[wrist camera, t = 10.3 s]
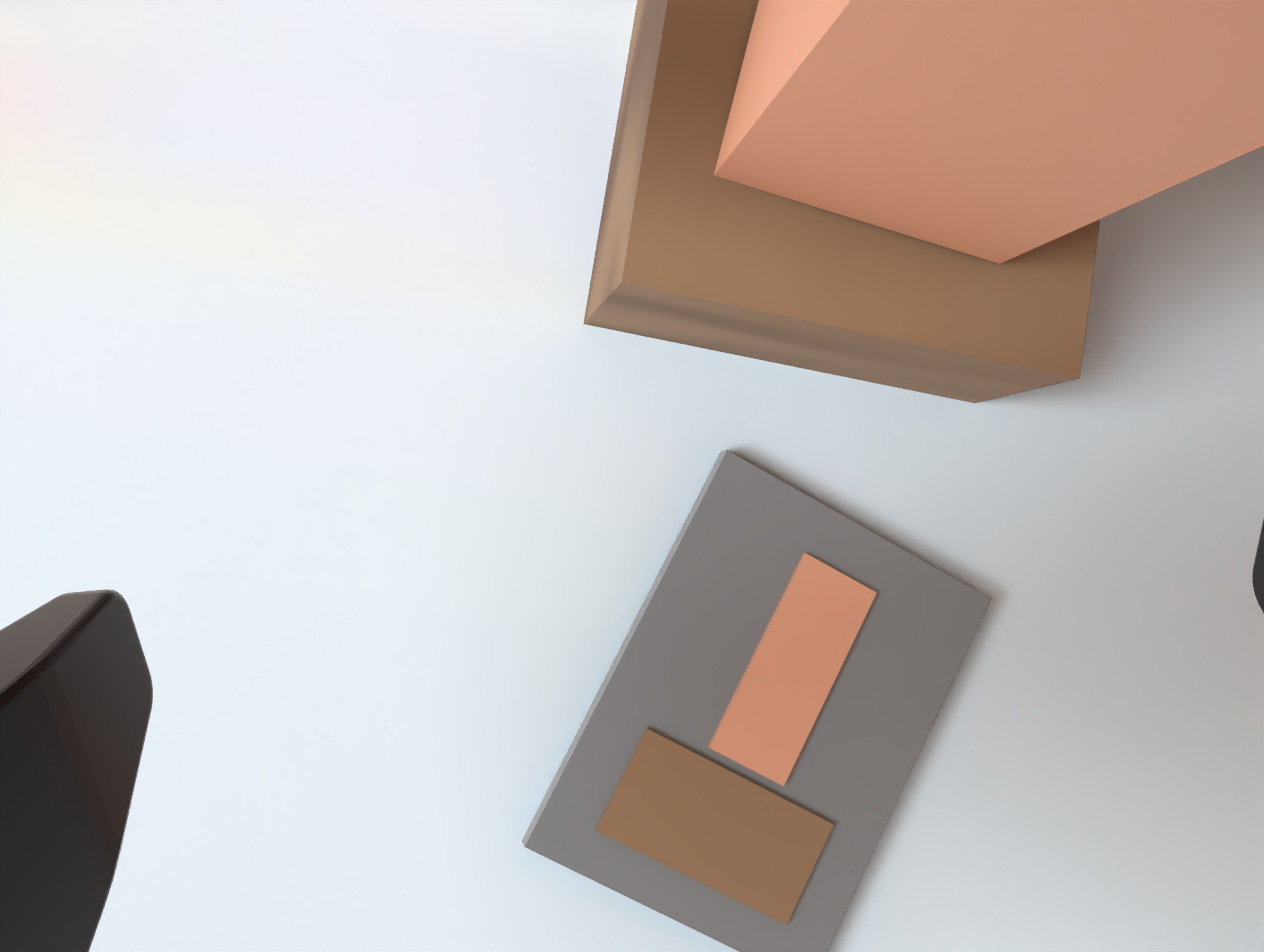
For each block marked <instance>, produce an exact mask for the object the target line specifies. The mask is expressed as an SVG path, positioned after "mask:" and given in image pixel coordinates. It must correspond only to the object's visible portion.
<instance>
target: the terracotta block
mask: <svg viewBox="0 0 1264 952" xmlns="http://www.w3.org/2000/svg"><path fill="white" fill-rule="evenodd" d="M1262 146H1264V0H759V2H758V6H757V10H756V14H755V17H754V21H753V25H752V29H751V33H750V37H749V41H748V44H747V48H746V52H745V56H744V60H743V64H742V68H741V72H740V75H739V79H738V83H737V87H736V91H735V95H734V99H733V102H732V106H731V110H730V114H729V118H728V122H727V126H726V129H725V133H724V137H723V141H722V145H721V149H720V153H719V157H718V160H717V164H716V168H715V172H714V176H717V177H720V178H723V179H727V180H730V181H733V182H736V183H740V184H743V185H746V186H749V187H753V188H756V189H759V190H762V191H765V192H769V193H772V194H775V195H778V196H782V197H785V198H788V199H791V200H795V201H798V202H801V203H804V204H808V205H811V206H814V207H817V208H820V209H824V210H827V211H830V212H833V213H837V214H840V215H843V216H846V217H850V218H853V219H856V220H859V221H863V222H866V223H869V224H872V225H876V226H879V227H882V228H885V229H888V230H892V231H895V232H898V233H901V234H905V235H908V236H911V237H914V238H918V239H921V240H924V241H927V242H931V243H934V244H937V245H940V246H943V247H947V248H950V249H953V250H956V251H960V252H963V253H966V254H969V255H973V256H976V257H979V258H982V259H986V260H989V261H992V262H995V263H999V264H1001V263H1003V262H1005V261H1007V260H1010V259H1012V258H1014V257H1016V256H1019V255H1021V254H1023V253H1025V252H1028V251H1030V250H1032V249H1034V248H1036V247H1039V246H1041V245H1043V244H1045V243H1048V242H1050V241H1052V240H1054V239H1057V238H1059V237H1061V236H1063V235H1066V234H1068V233H1070V232H1072V231H1074V230H1077V229H1079V228H1081V227H1083V226H1086V225H1088V224H1090V223H1092V222H1095V221H1097V220H1099V219H1101V218H1103V217H1106V216H1108V215H1110V214H1112V213H1115V212H1117V211H1119V210H1121V209H1124V208H1126V207H1128V206H1130V205H1132V204H1135V203H1137V202H1139V201H1141V200H1144V199H1146V198H1148V197H1150V196H1153V195H1155V194H1157V193H1159V192H1162V191H1164V190H1166V189H1168V188H1170V187H1173V186H1175V185H1177V184H1179V183H1182V182H1184V181H1186V180H1188V179H1191V178H1193V177H1195V176H1197V175H1199V174H1202V173H1204V172H1206V171H1208V170H1211V169H1213V168H1215V167H1217V166H1220V165H1222V164H1224V163H1226V162H1228V161H1231V160H1233V159H1235V158H1237V157H1240V156H1242V155H1244V154H1246V153H1249V152H1251V151H1253V150H1255V149H1258V148H1260V147H1262Z"/></svg>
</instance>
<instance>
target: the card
mask: <svg viewBox="0 0 1264 952" xmlns="http://www.w3.org/2000/svg"><path fill="white" fill-rule="evenodd" d="M990 600H991V599H990V598H989V597H987V596H985V595H983V594H982V593H980V592H978V591H976V590H974V589H973V588H971V587H969V586H967V585H966V584H964V583H962V582H960V581H958V580H957V579H955V578H953V577H951V576H950V575H948V574H946V573H944V572H943V571H941V570H939V569H937V568H935V567H934V566H932V565H930V564H928V563H927V562H925V561H923V560H921V559H919V558H918V557H916V556H914V555H912V554H911V553H909V552H907V551H905V550H904V549H902V548H900V547H898V546H896V545H895V544H893V543H891V542H889V541H888V540H886V539H884V538H882V537H880V536H879V535H877V534H875V533H873V532H872V531H870V530H868V529H866V528H865V527H863V526H861V525H859V524H857V523H856V522H854V521H852V520H850V519H849V518H847V517H845V516H843V515H841V514H840V513H838V512H836V511H834V510H833V509H831V508H829V507H827V506H825V505H824V504H822V503H820V502H818V501H817V500H815V499H813V498H811V497H810V496H808V495H806V494H804V493H802V492H801V491H799V490H797V489H795V488H794V487H792V486H790V485H788V484H786V483H785V482H783V481H781V480H779V479H778V478H776V477H774V476H772V475H771V474H769V473H767V472H765V471H763V470H762V469H760V468H758V467H756V466H755V465H753V464H751V463H749V462H747V461H746V460H744V459H742V458H740V457H739V456H737V455H735V454H733V453H732V452H730V451H728V450H726V451H722V452H721V453H720V455H719V457H718V459H717V461H716V463H715V465H714V467H713V469H712V471H711V473H710V475H709V477H708V479H707V481H706V483H705V484H704V486H703V488H702V490H701V492H700V494H699V496H698V498H697V500H696V502H695V504H694V506H693V508H692V510H691V512H690V514H689V516H688V518H687V520H686V522H685V524H684V526H683V527H682V529H681V531H680V533H679V535H678V537H677V539H676V541H675V543H674V545H673V547H672V549H671V551H670V553H669V555H668V557H667V559H666V561H665V563H664V565H663V567H662V569H661V570H660V572H659V574H658V576H657V578H656V580H655V582H654V584H653V586H652V588H651V590H650V592H649V594H648V596H647V598H646V600H645V602H644V604H643V606H642V608H641V610H640V612H639V613H638V615H637V617H636V619H635V621H634V623H633V625H632V627H631V629H630V631H629V633H628V635H627V637H626V639H625V641H624V643H623V645H622V647H621V649H620V651H619V653H618V655H617V656H616V658H615V660H614V662H613V664H612V666H611V668H610V670H609V672H608V674H607V676H606V678H605V680H604V682H603V684H602V686H601V688H600V690H599V692H598V694H597V696H596V698H595V699H594V701H593V703H592V705H591V707H590V709H589V711H588V713H587V715H586V717H585V719H584V721H583V723H582V725H581V727H580V729H579V731H578V733H577V735H576V737H575V739H574V741H573V742H572V744H571V746H570V748H569V750H568V752H567V754H566V756H565V758H564V760H563V762H562V764H561V766H560V768H559V770H558V772H557V774H556V776H555V778H554V780H553V782H552V784H551V785H550V787H549V789H548V791H547V793H546V795H545V797H544V799H543V801H542V803H541V805H540V807H539V809H538V811H537V813H536V815H535V817H534V819H533V821H532V823H531V825H530V827H529V828H528V830H527V832H526V834H525V836H524V838H523V840H522V842H523V844H524V846H525V847H526V848H528V849H530V850H532V851H534V852H536V853H539V854H541V855H543V856H545V857H547V858H549V859H551V860H553V861H555V862H557V863H559V864H561V865H563V866H565V867H567V868H569V869H571V870H573V871H575V872H578V873H580V874H582V875H584V876H586V877H588V878H590V879H592V880H594V881H596V882H598V883H600V884H602V885H604V886H606V887H608V888H610V889H612V890H614V891H617V892H619V893H621V894H623V895H625V896H627V897H629V898H631V899H633V900H635V901H637V902H639V903H641V904H643V905H645V906H647V907H649V908H651V909H653V910H656V911H658V912H660V913H662V914H664V915H666V916H668V917H670V918H672V919H674V920H676V921H678V922H680V923H682V924H684V925H686V926H688V927H690V928H692V929H695V930H697V931H699V932H701V933H703V934H705V935H707V936H709V937H711V938H713V939H715V940H717V941H719V942H721V943H723V944H725V945H727V946H729V947H731V948H733V949H736V950H738V951H740V952H827V951H828V949H829V946H830V944H831V942H832V940H833V938H834V936H835V933H836V931H837V929H838V927H839V925H840V923H841V921H842V918H843V916H844V914H845V912H846V910H847V908H848V906H849V903H850V901H851V899H852V897H853V895H854V893H855V890H856V888H857V886H858V884H859V882H860V880H861V878H862V875H863V873H864V871H865V869H866V867H867V865H868V862H869V860H870V858H871V856H872V854H873V852H874V850H875V847H876V845H877V843H878V841H879V839H880V837H881V834H882V832H883V830H884V828H885V826H886V824H887V822H888V819H889V817H890V815H891V813H892V811H893V809H894V806H895V804H896V802H897V800H898V798H899V796H900V794H901V791H902V789H903V787H904V785H905V783H906V781H907V778H908V776H909V774H910V772H911V770H912V768H913V766H914V763H915V761H916V759H917V757H918V755H919V753H920V750H921V748H922V746H923V744H924V742H925V740H926V738H927V735H928V733H929V731H930V729H931V727H932V725H933V722H934V720H935V718H936V716H937V714H938V712H939V710H940V707H941V705H942V703H943V701H944V699H945V697H946V694H947V692H948V690H949V688H950V686H951V684H952V682H953V679H954V677H955V675H956V673H957V671H958V669H959V666H960V664H961V662H962V660H963V658H964V656H965V654H966V651H967V649H968V647H969V645H970V643H971V641H972V638H973V636H974V634H975V632H976V630H977V628H978V626H979V623H980V621H981V619H982V617H983V615H984V613H985V610H986V608H987V606H988V604H989V602H990Z"/></svg>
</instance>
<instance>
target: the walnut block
mask: <svg viewBox="0 0 1264 952" xmlns="http://www.w3.org/2000/svg"><path fill="white" fill-rule="evenodd" d="M758 2H759V0H637V6H636V12H635V18H634V24H633V30H632V36H631V42H630V48H629V54H628V60H627V66H626V72H625V78H624V84H623V90H622V96H621V102H620V108H619V114H618V120H617V126H616V132H615V138H614V144H613V150H612V156H611V162H610V168H609V174H608V180H607V186H606V192H605V198H604V204H603V210H602V216H601V222H600V228H599V234H598V240H597V247H596V253H595V259H594V265H593V271H592V277H591V283H590V289H589V295H588V301H587V307H586V313H585V319H584V324H587V325H592V326H597V327H602V328H607V329H612V330H617V331H622V332H627V333H632V334H636V335H641V336H646V337H651V338H656V339H661V340H666V341H671V342H676V343H681V344H686V345H691V346H696V347H701V348H706V349H710V350H715V351H720V352H725V353H730V354H735V355H740V356H745V357H750V358H755V359H760V360H765V361H770V362H775V363H780V364H784V365H789V366H794V367H799V368H804V369H809V370H814V371H819V372H824V373H829V374H834V375H839V376H844V377H849V378H854V379H858V380H863V381H868V382H873V383H878V384H883V385H888V386H893V387H898V388H903V389H908V390H913V391H918V392H923V393H928V394H933V395H937V396H942V397H947V398H952V399H957V400H962V401H967V402H972V403H976V402H981V401H985V400H989V399H993V398H998V397H1002V396H1006V395H1010V394H1015V393H1019V392H1023V391H1027V390H1032V389H1036V388H1040V387H1045V386H1049V385H1053V384H1057V383H1062V382H1066V381H1070V380H1074V379H1079V378H1080V370H1081V363H1082V355H1083V347H1084V339H1085V331H1086V324H1087V316H1088V308H1089V300H1090V293H1091V285H1092V277H1093V269H1094V261H1095V254H1096V246H1097V238H1098V230H1099V222H1100V219H1099V220H1097V221H1095V222H1092V223H1090V224H1088V225H1086V226H1083V227H1081V228H1079V229H1077V230H1074V231H1072V232H1070V233H1068V234H1066V235H1063V236H1061V237H1059V238H1057V239H1054V240H1052V241H1050V242H1048V243H1045V244H1043V245H1041V246H1039V247H1036V248H1034V249H1032V250H1030V251H1028V252H1025V253H1023V254H1021V255H1019V256H1016V257H1014V258H1012V259H1010V260H1007V261H1005V262H1003V263H1001V264H999V263H995V262H992V261H989V260H986V259H982V258H979V257H976V256H973V255H969V254H966V253H963V252H960V251H956V250H953V249H950V248H947V247H943V246H940V245H937V244H934V243H931V242H927V241H924V240H921V239H918V238H914V237H911V236H908V235H905V234H901V233H898V232H895V231H892V230H888V229H885V228H882V227H879V226H876V225H872V224H869V223H866V222H863V221H859V220H856V219H853V218H850V217H846V216H843V215H840V214H837V213H833V212H830V211H827V210H824V209H820V208H817V207H814V206H811V205H808V204H804V203H801V202H798V201H795V200H791V199H788V198H785V197H782V196H778V195H775V194H772V193H769V192H765V191H762V190H759V189H756V188H753V187H749V186H746V185H743V184H740V183H736V182H733V181H730V180H727V179H723V178H720V177H717V176H714V172H715V168H716V164H717V160H718V157H719V153H720V149H721V145H722V141H723V137H724V133H725V129H726V126H727V122H728V118H729V114H730V110H731V106H732V102H733V99H734V95H735V91H736V87H737V83H738V79H739V75H740V72H741V68H742V64H743V60H744V56H745V52H746V48H747V44H748V41H749V37H750V33H751V29H752V25H753V21H754V17H755V14H756V10H757V6H758Z"/></svg>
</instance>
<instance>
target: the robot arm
mask: <svg viewBox="0 0 1264 952" xmlns="http://www.w3.org/2000/svg"><path fill="white" fill-rule="evenodd" d="M1253 587H1254V592H1255V595H1256V598H1257V601H1258V603H1259V605H1260V607H1261V609H1262V611H1263V613H1264V519H1263V524H1262V529H1261V534H1260V538H1259V543H1258V548H1257V553H1256V557H1255V562H1254V567H1253ZM152 701H153V686H152V680H151V675H150V672H149V668H148V665H147V662H146V659H145V656H144V653H143V650H142V647H141V643H140V640H139V637H138V634H137V631H136V628H135V625H134V622H133V618H132V615H131V612H130V609H129V607H128V604H127V602H126V601H125V599H124V598H123V596H122V595H121V594H119V593H118V592H116V591H114V590H96V591H85V592H74V593H67V594H63V595H60V596H58V597H56V598H54V599H53V600H51V601H49V602H48V603H46V604H44V605H43V606H41V607H39V608H38V609H36V610H34V611H32V612H31V613H29V614H27V615H26V616H24V617H22V618H21V619H19V620H17V621H15V622H14V623H12V624H10V625H9V626H7V627H5V628H4V629H2V630H0V952H89V949H90V946H91V944H92V941H93V938H94V935H95V932H96V929H97V926H98V923H99V921H100V918H101V915H102V912H103V909H104V906H105V903H106V900H107V897H108V894H109V890H110V887H111V884H112V881H113V878H114V874H115V870H116V866H117V862H118V858H119V854H120V850H121V846H122V841H123V837H124V832H125V828H126V823H127V819H128V814H129V809H130V805H131V800H132V796H133V791H134V787H135V782H136V777H137V773H138V768H139V764H140V759H141V755H142V750H143V745H144V741H145V736H146V732H147V727H148V723H149V718H150V713H151V709H152Z"/></svg>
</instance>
